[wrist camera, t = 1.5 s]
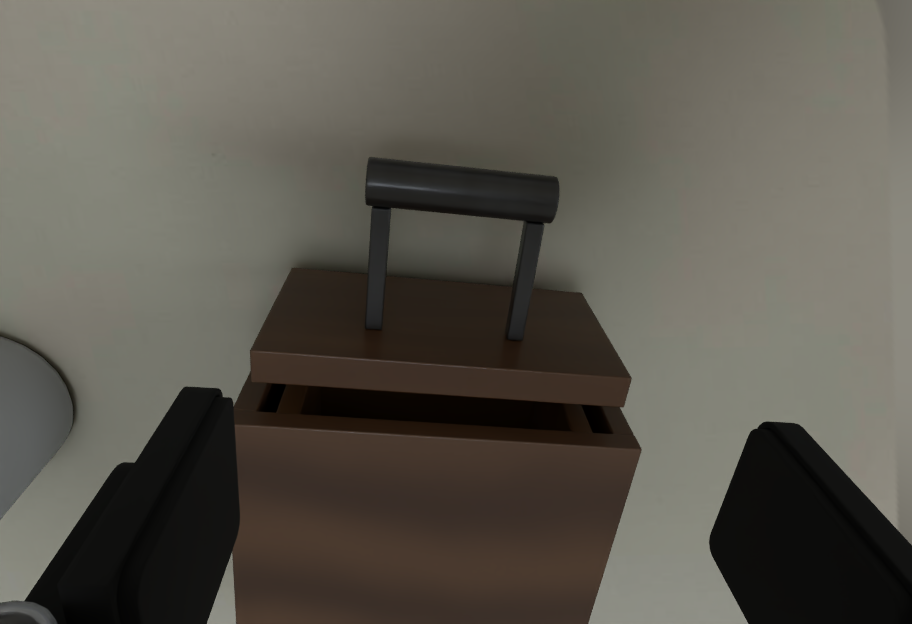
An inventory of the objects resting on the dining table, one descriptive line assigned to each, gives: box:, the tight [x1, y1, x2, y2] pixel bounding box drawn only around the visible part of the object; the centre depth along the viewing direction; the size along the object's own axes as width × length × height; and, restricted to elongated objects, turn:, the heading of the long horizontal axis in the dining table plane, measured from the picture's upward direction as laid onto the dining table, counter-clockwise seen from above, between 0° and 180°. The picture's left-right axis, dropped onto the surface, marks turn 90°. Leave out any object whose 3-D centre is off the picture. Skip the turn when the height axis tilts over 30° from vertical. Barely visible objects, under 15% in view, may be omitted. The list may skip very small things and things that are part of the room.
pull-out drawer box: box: [250, 157, 632, 433], centre depth 25 cm, size 20×12×7 cm, turn 173°
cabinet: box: [232, 371, 641, 624], centre depth 27 cm, size 16×14×9 cm
